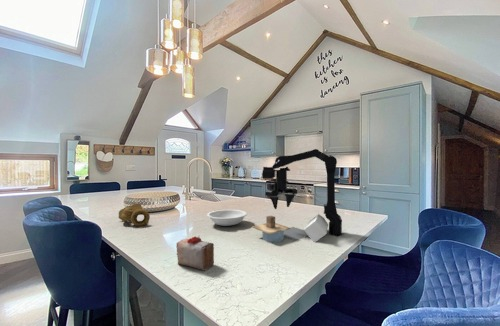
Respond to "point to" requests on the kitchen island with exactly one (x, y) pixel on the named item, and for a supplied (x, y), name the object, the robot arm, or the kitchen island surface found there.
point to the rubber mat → (295, 233)
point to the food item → (195, 253)
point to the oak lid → (270, 226)
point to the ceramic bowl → (273, 236)
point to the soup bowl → (227, 217)
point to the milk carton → (316, 228)
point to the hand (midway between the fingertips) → (281, 207)
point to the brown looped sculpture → (134, 214)
